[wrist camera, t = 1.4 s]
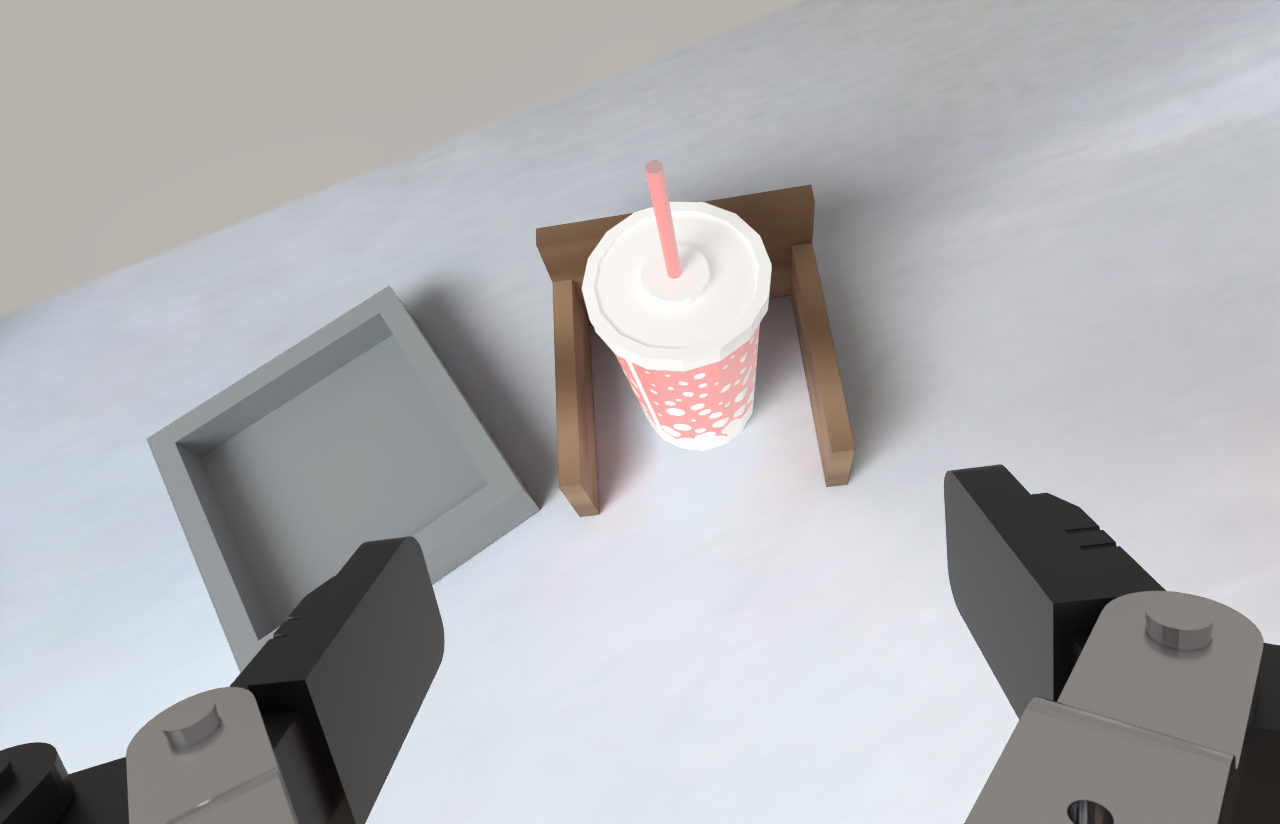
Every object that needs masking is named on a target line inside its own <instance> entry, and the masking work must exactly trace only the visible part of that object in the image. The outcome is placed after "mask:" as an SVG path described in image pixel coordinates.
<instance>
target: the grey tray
mask: <svg viewBox="0 0 1280 824" xmlns="http://www.w3.org/2000/svg"><path fill="white" fill-rule="evenodd" d="M147 441H148V444H149V446H150V449H151V451H152V454H153V456H154V459H155V461H156V464H157V466H158V469H159V471H160V474H161V476H162V479H163V481H164V484H165V486H166V489H167V491H168V493H169V496H170V498H171V501H172V503H173V506H174V508H175V511H176V513H177V516H178V518H179V521H180V523H181V526H182V528H183V531H184V533H185V536H186V538H187V541H188V543H189V546H190V548H191V551H192V553H193V556H194V558H195V561H196V563H197V566H198V568H199V571H200V573H201V576H202V578H203V581H204V583H205V586H206V588H207V591H208V593H209V596H210V598H211V601H212V603H213V606H214V608H215V611H216V613H217V616H218V618H219V621H220V623H221V625H222V628H223V630H224V633H225V635H226V638H227V640H228V643H229V645H230V648H231V650H232V653H233V655H234V658H235V660H236V663H237V665H238V668H239V670H240V673H241V672H242V671H243V670H244V669H245V668H246V666H247V665H248V664H249V663H250V662H251V660H252V659H253V658H254V657H255V656H256V654H257V653H258V652H259V651H260V650H261V648H262V647H263V646H264V645H265V644H266V642H267V641H268V640H269V639H273V634H274V633H275V632H276V630H277V629H278V628H279V627H280V626H281V624H282V623H283V622H284V621H288V616H289V615H290V614H291V613H292V611H293V610H294V609H295V608H296V607H297V605H298V604H299V603H300V602H301V601H302V599H303V598H304V597H305V596H306V595H308V594H309V593H310V592H312V591H313V590H315V589H316V588H317V587H319V586H320V585H322V584H323V583H324V582H326V581H327V580H329V579H330V578H332V577H333V576H336V575H337V574H338V572H339V571H340V570H341V569H342V567H343V566H344V565H345V564H346V562H347V561H348V560H349V559H350V558H351V556H352V555H353V554H354V553H355V551H356V550H357V549H358V548H359V546H360V545H361V544H362V543H364V542H368V541H376V540H384V539H392V538H400V537H408V536H412V537H414V538H415V539H416V540H417V541H418V543H419V544H420V546H421V549H422V552H423V555H424V558H425V562H426V566H427V569H428V573H429V576H430V580H431V583H432V584H434V583H435V582H437V581H438V580H440V579H441V578H443V577H444V576H445V575H447V574H448V573H450V572H451V571H453V570H454V569H456V568H457V567H458V566H460V565H461V564H463V563H464V562H466V561H467V560H469V559H470V558H471V557H473V556H474V555H476V554H477V553H479V552H480V551H482V550H483V549H484V548H486V547H487V546H489V545H490V544H492V543H493V542H494V541H496V540H497V539H499V538H500V537H502V536H503V535H505V534H506V533H507V532H509V531H510V530H512V529H513V528H515V527H516V526H518V525H519V524H520V523H522V522H523V521H525V520H526V519H528V518H529V517H531V516H532V515H533V514H535V513H536V512H538V511H539V510H540V509H539V507H538V506H537V504H536V503H535V501H534V500H533V498H532V497H531V495H530V494H529V492H528V491H527V489H526V488H525V486H524V484H523V483H522V481H521V480H520V478H519V477H518V475H517V474H516V472H515V471H514V469H513V468H512V466H511V465H510V463H509V462H508V460H507V459H506V457H505V456H504V454H503V453H502V451H501V450H500V448H499V447H498V445H497V444H496V442H495V441H494V439H493V437H492V436H491V434H490V433H489V431H488V430H487V428H486V427H485V425H484V424H483V422H482V421H481V419H480V418H479V416H478V415H477V413H476V412H475V410H474V409H473V407H472V406H471V404H470V403H469V401H468V400H467V398H466V397H465V395H464V394H463V392H462V390H461V389H460V387H459V386H458V384H457V383H456V381H455V380H454V378H453V377H452V375H451V374H450V372H449V371H448V369H447V368H446V366H445V365H444V363H443V362H442V360H441V359H440V357H439V356H438V354H437V353H436V351H435V350H434V348H433V347H432V345H431V343H430V342H429V340H428V339H427V337H426V336H425V334H424V333H423V331H422V330H421V328H420V327H419V325H418V324H417V322H416V321H415V319H414V318H413V316H412V315H411V313H410V312H409V311H408V310H407V308H406V307H405V306H404V304H403V303H402V302H401V300H400V299H399V298H398V296H397V295H396V294H395V292H394V291H393V290H392V288H391V287H390V286H388V287H386V288H385V289H383V290H382V291H380V292H378V293H377V294H375V295H374V296H372V297H370V298H369V299H367V300H366V301H364V302H363V303H361V304H359V305H358V306H356V307H355V308H353V309H351V310H350V311H348V312H347V313H345V314H344V315H342V316H340V317H339V318H337V319H336V320H334V321H332V322H331V323H329V324H328V325H326V326H325V327H323V328H321V329H320V330H318V331H317V332H315V333H313V334H312V335H310V336H309V337H307V338H306V339H304V340H302V341H301V342H299V343H298V344H296V345H294V346H293V347H291V348H290V349H288V350H287V351H285V352H283V353H282V354H280V355H279V356H277V357H275V358H274V359H272V360H271V361H269V362H268V363H266V364H264V365H263V366H261V367H260V368H258V369H256V370H255V371H253V372H252V373H250V374H249V375H247V376H245V377H244V378H242V379H241V380H239V381H237V382H236V383H234V384H233V385H231V386H229V387H228V388H226V389H225V390H223V391H222V392H220V393H218V394H217V395H215V396H214V397H212V398H210V399H209V400H207V401H206V402H204V403H203V404H201V405H199V406H198V407H196V408H195V409H193V410H191V411H190V412H188V413H187V414H185V415H184V416H182V417H180V418H179V419H177V420H176V421H174V422H172V423H171V424H169V425H168V426H166V427H165V428H163V429H161V430H160V431H158V432H157V433H155V434H153V435H152V436H150V437H149V438H147Z"/></svg>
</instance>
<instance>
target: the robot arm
mask: <svg viewBox="0 0 1280 824" xmlns="http://www.w3.org/2000/svg"><path fill="white" fill-rule="evenodd" d="M944 499H945V519H946V539H947V559H948V573H949V580H950V585H951V589H952V593H953V597H954V600H955V603H956V606H957V608H958V610H959V612H960V614H961V616H962V618H963V620H964V621H965V623H966V625H967V627H968V628H969V630H970V632H971V634H972V636H973V637H974V639H975V641H976V643H977V645H978V646H979V648H980V650H981V652H982V654H983V655H984V657H985V659H986V661H987V663H988V664H989V666H990V668H991V670H992V671H993V673H994V675H995V677H996V679H997V680H998V682H999V684H1000V686H1001V688H1002V689H1003V691H1004V693H1005V695H1006V697H1007V698H1008V700H1009V702H1010V704H1011V706H1012V707H1013V709H1014V711H1015V713H1016V714H1017V716H1018V718H1019V722H1018V724H1017V726H1016V728H1015V729H1014V731H1013V733H1012V735H1011V737H1010V739H1009V741H1008V743H1007V744H1006V746H1005V748H1004V750H1003V752H1002V754H1001V756H1000V758H999V759H998V761H997V763H996V765H995V767H994V769H993V771H992V773H991V774H990V776H989V778H988V780H987V782H986V784H985V786H984V788H983V789H982V791H981V793H980V795H979V797H978V799H977V801H976V803H975V804H974V806H973V808H972V810H971V812H970V814H969V816H968V818H967V819H966V821H965V823H964V824H1280V645H1273V644H1267V643H1263V638H1262V635H1261V633H1260V631H1259V630H1258V628H1257V627H1256V626H1255V625H1254V624H1253V623H1252V622H1251V621H1250V620H1249V619H1248V618H1246V617H1245V616H1244V615H1242V614H1241V613H1239V612H1237V611H1236V610H1234V609H1232V608H1230V607H1228V606H1226V605H1223V604H1221V603H1218V602H1216V601H1213V600H1210V599H1207V598H1204V597H1200V596H1195V595H1191V594H1185V593H1179V592H1170V591H1166V590H1165V589H1164V588H1163V587H1162V586H1161V585H1160V584H1159V583H1157V582H1156V581H1155V580H1154V579H1153V578H1152V577H1151V576H1150V575H1149V574H1148V573H1147V572H1146V571H1145V570H1144V569H1143V568H1142V567H1141V566H1140V565H1139V564H1138V563H1137V562H1136V561H1135V560H1134V559H1133V558H1132V557H1131V556H1129V555H1128V554H1127V553H1126V552H1125V551H1124V550H1123V549H1122V548H1121V547H1120V546H1118V547H1117V546H1116V542H1115V541H1114V540H1113V539H1112V538H1111V537H1110V536H1109V535H1108V534H1107V533H1106V532H1105V531H1104V530H1100V529H1099V526H1098V525H1097V524H1096V523H1095V522H1094V521H1093V520H1092V519H1091V518H1090V517H1089V516H1088V515H1087V514H1086V513H1085V512H1084V511H1083V510H1082V509H1081V508H1080V507H1078V506H1076V505H1073V504H1071V503H1069V502H1067V501H1064V500H1062V499H1060V498H1058V497H1056V496H1053V495H1051V494H1049V493H1040V494H1032V495H1031V494H1030V493H1029V492H1028V491H1027V490H1026V489H1025V488H1024V487H1023V486H1022V485H1021V484H1020V483H1019V482H1018V480H1017V479H1016V478H1015V477H1014V476H1013V475H1012V474H1011V473H1010V472H1009V471H1008V470H1007V469H1006V468H1005V467H1004V466H1003V465H1001V464H1000V465H992V466H984V467H976V468H968V469H960V470H952V471H947V473H946V475H945V480H944ZM443 653H444V628H443V623H442V619H441V615H440V612H439V608H438V605H437V601H436V598H435V594H434V590H433V587H432V583H431V580H430V576H429V573H428V569H427V566H426V562H425V558H424V555H423V552H422V549H421V546H420V544H419V543H418V541H417V540H416V539H415V538H414V537H412V536H408V537H400V538H392V539H384V540H376V541H368V542H364V543H362V544H361V545H360V546H359V548H358V549H357V550H356V551H355V553H354V554H353V555H352V556H351V558H350V559H349V560H348V561H347V562H346V564H345V565H344V566H343V567H342V569H341V570H340V571H339V572H338V574H337V575H336V576H333V577H332V578H330V579H329V580H327V581H326V582H324V583H323V584H322V585H320V586H319V587H317V588H316V589H315V590H313V591H312V592H310V593H309V594H308V595H306V596H305V597H304V598H303V599H302V601H301V602H300V603H299V604H298V605H297V607H296V608H295V609H294V610H293V611H292V613H291V614H290V615H289V616H288V621H284V622H283V623H282V624H281V626H280V627H279V628H278V629H277V630H276V632H275V633H274V634H273V639H269V640H268V641H267V642H266V644H265V645H264V646H263V647H262V648H261V650H260V651H259V652H258V653H257V654H256V656H255V657H254V658H253V659H252V660H251V662H250V663H249V664H248V665H247V666H246V668H245V669H244V670H243V671H242V672H241V673H240V675H239V676H238V677H237V678H236V679H235V681H234V682H233V683H232V684H231V685H230V687H225V688H218V689H213V690H209V691H206V692H202V693H199V694H196V695H194V696H191V697H189V698H187V699H185V700H182V701H180V702H178V703H176V704H174V705H173V706H171V707H169V708H167V709H166V710H164V711H163V712H161V713H160V714H158V715H157V716H155V717H154V718H153V719H152V720H150V721H149V722H148V723H147V724H146V725H145V726H143V727H142V728H141V729H140V730H139V731H138V733H137V734H136V735H135V736H134V737H133V739H132V740H131V742H130V744H129V746H128V748H127V753H126V757H124V758H121V759H117V760H114V761H111V762H108V763H104V764H101V765H98V766H95V767H91V768H88V769H85V770H81V771H78V772H75V773H72V774H68V773H67V771H66V769H65V767H64V765H63V763H62V761H61V759H60V757H59V755H58V753H57V751H56V749H55V747H53V746H52V745H50V744H47V743H39V742H37V743H27V744H22V745H18V746H14V747H11V748H7V749H4V750H2V751H0V824H365V822H366V820H367V818H368V816H369V814H370V812H371V810H372V808H373V806H374V803H375V801H376V799H377V797H378V795H379V793H380V791H381V789H382V787H383V784H384V782H385V780H386V778H387V776H388V774H389V772H390V770H391V768H392V766H393V763H394V761H395V759H396V757H397V755H398V753H399V751H400V749H401V747H402V744H403V742H404V740H405V738H406V736H407V734H408V732H409V730H410V728H411V725H412V723H413V721H414V719H415V717H416V715H417V713H418V711H419V709H420V707H421V704H422V702H423V700H424V698H425V696H426V694H427V692H428V690H429V688H430V685H431V683H432V681H433V679H434V677H435V675H436V673H437V671H438V669H439V666H440V664H441V662H442V658H443Z"/></svg>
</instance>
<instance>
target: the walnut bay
mask: <svg viewBox="0 0 1280 824" xmlns="http://www.w3.org/2000/svg"><path fill="white" fill-rule="evenodd" d="M705 203H708V204H710V205H713V206H716V207H718V208H721V209H724V210H727V211H729V212H732V213H735V214H737V215H738V216H739V217H740V218H741V219H742V220H743V221H744V222H746V223H747V224H748V225H749V226H750V227H751V228H752V229H753V230H754V231H755V232H757V233H758V234H759V235H760V237H761V239H762V242H763V244H764V247H765V249H766V252H767V254H768V257H769V259H770V262H771V264H772V271H771V282H770V292H769V298H771V297H778V296H784V295H791V300H792V306H793V311H794V316H795V322H796V327H797V332H798V338H799V343H800V348H801V354H802V359H803V364H804V370H805V375H806V380H807V386H808V391H809V396H810V402H811V407H812V412H813V418H814V423H815V428H816V434H817V439H818V445H819V450H820V455H821V461H822V466H823V471H824V477H825V482H826V487H831V486H839V485H847V484H848V479H849V475H850V470H851V466H852V462H853V457H854V453H855V447H854V442H853V437H852V432H851V427H850V423H849V418H848V413H847V408H846V403H845V399H844V394H843V389H842V384H841V379H840V375H839V370H838V365H837V360H836V355H835V351H834V346H833V341H832V336H831V331H830V327H829V322H828V317H827V312H826V307H825V303H824V298H823V293H822V288H821V283H820V279H819V274H818V269H817V264H816V259H815V255H814V250H813V245H812V235H813V220H814V204H815V200H814V196H813V191H812V187H811V185H806V186H800V187H794V188H787V189H781V190H775V191H769V192H762V193H756V194H750V195H744V196H737V197H731V198H725V199H719V200H712V201H706V202H705ZM632 214H633V213H631V214H625V215H619V216H612V217H606V218H600V219H594V220H587V221H581V222H575V223H569V224H562V225H556V226H550V227H544V228H537V229H536V246H537V248H538V250H539V252H540V255H541V257H542V259H543V262H544V264H545V266H546V268H547V271H548V273H549V275H550V278H551V280H552V282H553V313H554V346H555V378H556V411H557V443H558V476H559V488H560V489H561V491H562V492H563V494H564V495H565V496H566V498H567V499H568V501H569V502H570V503H571V505H572V506H573V508H574V509H575V511H576V512H577V513H578V515H579V516H580V517H582V516H591V515H599V497H598V478H597V460H596V441H595V422H594V404H593V385H592V366H591V348H590V329H589V324H591V322H590V319H589V315H588V312H587V308H586V304H585V300H584V296H583V292H582V285H583V280H584V275H585V270H586V265H587V261H588V258H589V256H590V255H591V253H592V252H593V251H594V249H595V248H596V246H597V245H598V244H599V242H600V241H601V239H602V238H603V236H604V235H605V234H606V232H607V231H609V230H610V229H611V228H613V227H614V226H616V225H617V224H619V223H620V222H622V221H623V220H624V219H626V218H627V217H629V216H630V215H632Z"/></svg>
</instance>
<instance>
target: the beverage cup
mask: <svg viewBox="0 0 1280 824" xmlns="http://www.w3.org/2000/svg"><path fill="white" fill-rule="evenodd" d="M645 171H646V175H647V180H648V185H649V190H650V195H651V199H652V204H653V207H650V208H647V209H644V210H640V211H637V212H634V213H633V214H632V215H630V216H629V217H627V218H626V219H624V220H623V221H622V222H620V223H619V224H617V225H616V226H614V227H613V228H611V229H610V230H609V231H607V232H606V234H605V235H604V236H603V238H602V239H601V241H600V242H599V244H598V245H597V246H596V248H595V249H594V251H593V252H592V253H591V255H590V256H589V258H588V261H587V265H586V270H585V275H584V280H583V285H582V292H583V296H584V300H585V304H586V308H587V312H588V315H589V319H590V322H591V324H592V325H593V326H594V328H595V331H596V333H597V334H598V335H599V336H600V337H601V338H602V339H603V341H604V342H605V343H606V344H607V345H608V346H609V347H610V349H611V350H612V351H613V352H614V353H615V355H616V357H617V359H618V361H619V363H620V365H621V367H622V369H623V371H624V373H625V375H626V377H627V379H628V381H629V383H630V385H631V387H632V389H633V391H634V393H635V395H636V397H637V399H638V401H639V403H640V405H641V407H642V409H643V411H644V413H645V415H646V417H647V419H648V421H649V423H650V424H651V426H652V427H653V428H654V429H655V430H656V431H657V433H658V434H659V435H660V436H661V437H662V438H663V439H664V440H666V441H668V442H670V443H672V444H674V445H676V446H678V447H680V448H682V449H695V450H706V449H710V448H713V447H717V446H720V445H723V444H726V443H727V442H728V441H730V440H731V439H732V438H734V437H735V436H736V435H737V434H739V433H740V432H741V431H742V430H743V429H744V427H745V425H746V423H747V422H748V420H749V418H750V416H751V415H752V412H753V402H754V391H755V379H756V366H757V353H758V341H759V328H760V322H761V320H762V319H763V317H764V315H765V314H766V312H767V310H768V303H769V292H770V282H771V271H772V264H771V262H770V259H769V257H768V254H767V252H766V249H765V247H764V244H763V242H762V239H761V237H760V235H759V234H758V233H757V232H755V231H754V230H753V229H752V228H751V227H750V226H749V225H748V224H747V223H746V222H744V221H743V220H742V219H741V218H740V217H739V216H738V215H737V214H735V213H732V212H729V211H727V210H724V209H721V208H718V207H716V206H713V205H710V204H708V203H705V202H669V198H668V192H667V187H666V181H665V176H664V170H663V165H662V163H661V162H660V161H657V160H653V161H650V162H648V163H647V164H646V166H645Z"/></svg>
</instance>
